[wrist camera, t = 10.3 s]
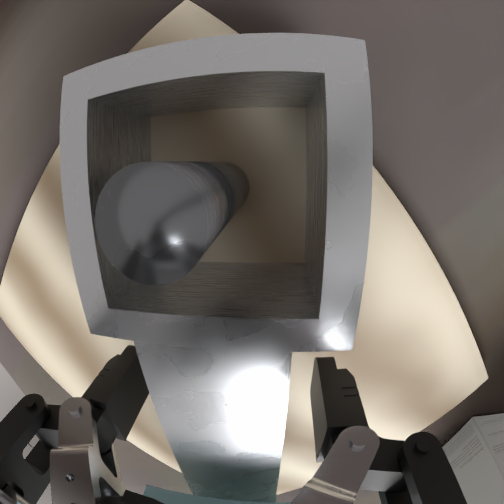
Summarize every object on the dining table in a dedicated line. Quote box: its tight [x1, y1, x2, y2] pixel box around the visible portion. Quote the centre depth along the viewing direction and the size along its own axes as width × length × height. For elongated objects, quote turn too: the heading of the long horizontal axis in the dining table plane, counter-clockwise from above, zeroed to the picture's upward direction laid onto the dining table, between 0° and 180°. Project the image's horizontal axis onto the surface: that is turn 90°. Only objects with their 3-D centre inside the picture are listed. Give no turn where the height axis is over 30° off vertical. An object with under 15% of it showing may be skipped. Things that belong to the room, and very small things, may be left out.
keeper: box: [143, 485, 290, 504], centre depth 12 cm, size 9×7×7 cm
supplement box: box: [442, 413, 504, 504], centre depth 10 cm, size 7×7×13 cm
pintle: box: [95, 161, 249, 285], centre depth 7 cm, size 2×2×8 cm
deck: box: [0, 0, 488, 495], centre depth 13 cm, size 22×26×1 cm
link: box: [60, 33, 373, 503], centre depth 10 cm, size 19×8×4 cm, turn 1°
